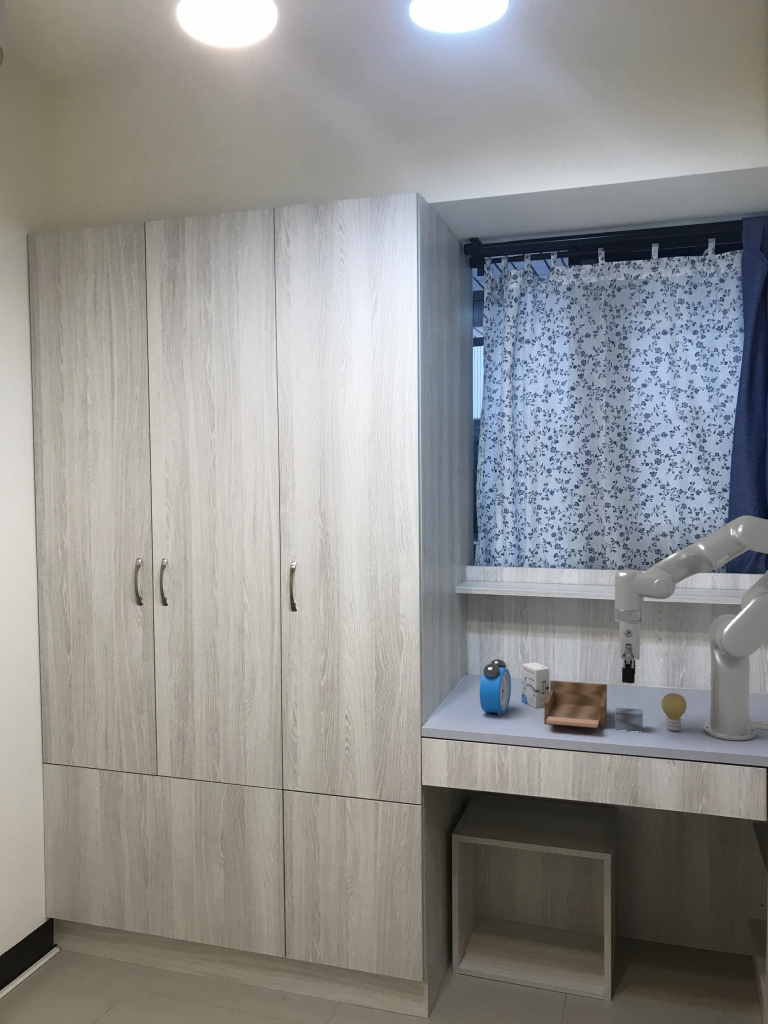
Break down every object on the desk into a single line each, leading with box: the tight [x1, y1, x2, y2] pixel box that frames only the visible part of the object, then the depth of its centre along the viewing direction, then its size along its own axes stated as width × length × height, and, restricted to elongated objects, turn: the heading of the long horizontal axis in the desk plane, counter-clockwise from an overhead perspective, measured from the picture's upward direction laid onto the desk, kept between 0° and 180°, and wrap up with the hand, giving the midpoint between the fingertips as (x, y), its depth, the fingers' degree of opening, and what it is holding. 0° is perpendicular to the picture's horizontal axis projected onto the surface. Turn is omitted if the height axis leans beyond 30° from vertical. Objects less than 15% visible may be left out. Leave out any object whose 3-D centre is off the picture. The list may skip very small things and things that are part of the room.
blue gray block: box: [614, 707, 644, 733], centre depth 226 cm, size 7×5×5 cm, turn 73°
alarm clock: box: [479, 658, 512, 717], centre depth 242 cm, size 13×6×15 cm, turn 157°
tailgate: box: [546, 716, 599, 728], centre depth 225 cm, size 13×1×7 cm
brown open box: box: [543, 680, 608, 730], centre depth 235 cm, size 16×15×8 cm
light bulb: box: [660, 692, 687, 732], centre depth 224 cm, size 6×6×10 cm
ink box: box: [521, 662, 550, 709], centre depth 250 cm, size 9×5×12 cm, turn 21°
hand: (628, 678), depth 225 cm, fingers open, 9 cm apart
